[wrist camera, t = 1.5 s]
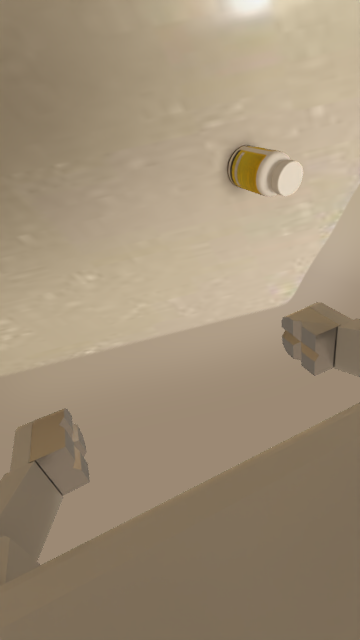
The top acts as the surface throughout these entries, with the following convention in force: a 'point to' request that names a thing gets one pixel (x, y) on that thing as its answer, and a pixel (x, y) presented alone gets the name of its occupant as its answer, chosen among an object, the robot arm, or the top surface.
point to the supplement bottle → (265, 171)
